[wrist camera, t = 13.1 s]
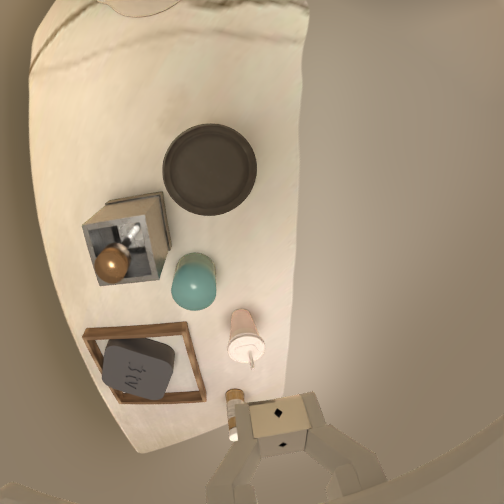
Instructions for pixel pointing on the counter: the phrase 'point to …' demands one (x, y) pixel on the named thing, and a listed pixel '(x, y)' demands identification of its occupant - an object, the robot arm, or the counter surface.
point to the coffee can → (209, 169)
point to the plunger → (118, 254)
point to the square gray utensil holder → (153, 230)
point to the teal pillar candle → (194, 282)
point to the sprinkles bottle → (233, 411)
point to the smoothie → (244, 339)
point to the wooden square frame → (144, 332)
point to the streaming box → (138, 367)
